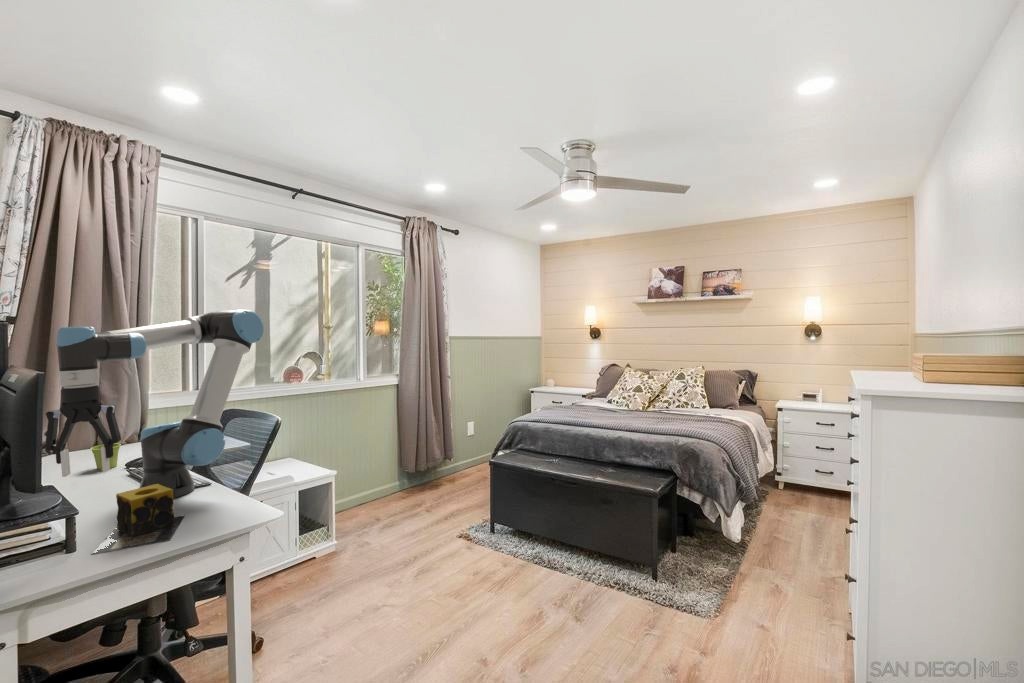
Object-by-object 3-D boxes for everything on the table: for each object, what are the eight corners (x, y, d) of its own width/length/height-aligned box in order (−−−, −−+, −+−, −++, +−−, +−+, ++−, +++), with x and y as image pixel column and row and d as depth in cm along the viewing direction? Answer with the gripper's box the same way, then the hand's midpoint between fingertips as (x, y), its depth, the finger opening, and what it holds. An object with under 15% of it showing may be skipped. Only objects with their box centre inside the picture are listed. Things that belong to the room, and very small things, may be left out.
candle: (116, 530, 131) (114, 494, 131) (160, 517, 140) (157, 482, 139) (131, 538, 125) (129, 500, 125) (175, 524, 134) (173, 488, 133)
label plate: (116, 526, 134) (116, 526, 134) (185, 515, 140) (185, 515, 140) (90, 554, 117) (90, 554, 117) (169, 540, 124) (169, 540, 124)
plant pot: (128, 463, 200) (126, 442, 199) (110, 470, 190) (109, 448, 190) (104, 464, 199) (102, 443, 199) (85, 471, 190) (83, 449, 189)
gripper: (20, 391, 119) (27, 483, 120) (123, 384, 127) (129, 470, 128) (36, 387, 126) (42, 475, 126) (132, 381, 134) (138, 463, 135)
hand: (86, 472), depth 127 cm, fingers open, 8 cm apart
